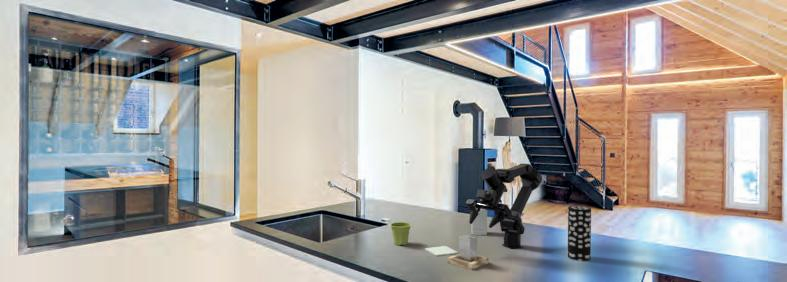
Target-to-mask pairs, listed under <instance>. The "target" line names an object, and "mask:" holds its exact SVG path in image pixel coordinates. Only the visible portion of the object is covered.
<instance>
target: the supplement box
mask: <svg viewBox="0 0 787 282" xmlns="http://www.w3.org/2000/svg"><path fill="white" fill-rule="evenodd" d="M478 213H479V214H478V216H477V217H476V219H475V220H474V221H473V223H472V224H471V236H474V235H475V236H487V234H488V230H487V229H488V210H484V209H481V210H480V211H479V212H478Z"/></svg>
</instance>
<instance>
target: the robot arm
mask: <svg viewBox="0 0 787 282" xmlns="http://www.w3.org/2000/svg"><path fill="white" fill-rule="evenodd" d="M480 176H481V178H482V180H483V181H484V183H485V184H486V185H487V187H489V189H488V190H487V189H486V190H485V189H477V191H476V192H477V193H476V196H475V198H477V199H479V201H478V200H476V199H472V198H469V199H466V202H465V205H466V207H467V208H468V209H469V224H470V225H472V223H473V221H474V220H475V219H476V217H477V216H478V214H479V213H478V212H479V211H480V210H481V209H484V210H487V211H489V212H490V211H491V212H494V214H493V216H492V218H491V219H490V223H489V225H488V227H489V229H492V228H493V227H495V226H496V225H497V224H500V225H499V226H500V230H501V232H502V233H503V232H504V235H503V243H501V245H502V246H504V247H506V248H509V249H512V250H513V249H519V248H523V247H524V246H523V245H521V242H522V241H521V237H522V236H521V235H524V233H525V231H526V230H525V229H526V228H525V227H524V225H523V220H522V219H523V218H522V214H523V212H524V209H525V207H526V205H527V203H528V201H529V198H530V197H531V196H532V192H533V191H534V190H537V189H538V188H539V187H540V185H541V184H542V182H543V176H542V174H541V173H540V171H539V170H537V169H536V168H535V167H533V166H532V165H531V163H520V164H518V165H515V166H512V167H509V168H495V166H489V167H488V168H485V169H484V170H483V171H481V174H480ZM517 177H519V178H520V180H521V183H522V184H521V185H522V186H521V187H520V189H519V191H518V193H517V196H516V198H515V199H514V201H513V204H512V206H511V207H510V206H508V204H506V203H502V198H503V195H504V193H508V188H507V185H506V184H512V183H513V181H515V178H517ZM479 202H480V203H479Z"/></svg>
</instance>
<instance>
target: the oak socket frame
mask: <svg viewBox="0 0 787 282" xmlns="http://www.w3.org/2000/svg"><path fill="white" fill-rule="evenodd" d="M447 264H450V265H453V266H458V267H461V268H464V269H466V270H467V269H468V270H470V271H471V270H476V269H478V268H480V267H482V266H485V265H488V264H489V257H486V256H482V255H479V254H477V260H476V261H473V262H467V261H464V260H460V259H459V253H457V254H453V255H451V256H448V257H447Z"/></svg>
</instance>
